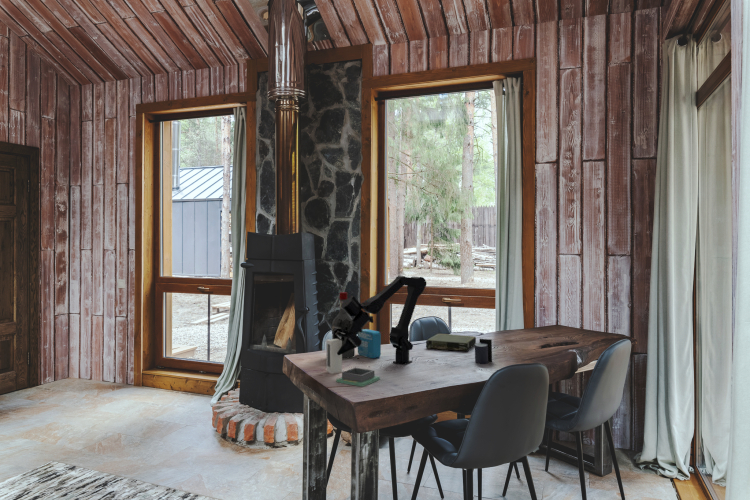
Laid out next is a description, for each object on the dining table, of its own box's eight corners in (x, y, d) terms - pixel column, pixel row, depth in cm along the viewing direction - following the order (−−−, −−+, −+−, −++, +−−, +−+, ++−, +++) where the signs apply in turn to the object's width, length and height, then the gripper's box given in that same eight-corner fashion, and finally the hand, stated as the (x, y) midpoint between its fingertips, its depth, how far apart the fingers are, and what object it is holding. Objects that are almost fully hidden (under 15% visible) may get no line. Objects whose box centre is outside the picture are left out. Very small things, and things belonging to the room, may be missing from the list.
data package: (357, 354, 234) (357, 329, 234) (364, 353, 237) (364, 328, 237) (373, 359, 225) (373, 332, 225) (380, 357, 227) (380, 331, 227)
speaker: (481, 359, 223) (481, 337, 222) (492, 361, 219) (492, 339, 218) (472, 363, 217) (471, 340, 216) (483, 366, 213) (483, 343, 212)
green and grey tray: (354, 375, 196) (354, 366, 196) (379, 379, 189) (379, 370, 189) (336, 382, 186) (336, 372, 186) (362, 386, 179) (362, 377, 179)
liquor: (348, 353, 235) (348, 291, 235) (356, 357, 227) (356, 293, 227) (330, 355, 232) (330, 292, 232) (337, 359, 223) (337, 293, 223)
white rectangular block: (337, 369, 204) (337, 338, 204) (341, 372, 200) (341, 340, 200) (326, 371, 202) (326, 339, 202) (331, 373, 198) (330, 341, 198)
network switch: (424, 350, 245) (424, 340, 245) (433, 342, 268) (433, 332, 268) (471, 353, 238) (471, 343, 238) (476, 344, 261) (476, 335, 261)
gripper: (335, 308, 212) (311, 336, 206) (355, 313, 195) (329, 343, 190) (352, 325, 215) (328, 353, 210) (372, 331, 199) (347, 361, 194)
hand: (333, 352), depth 201 cm, fingers open, 9 cm apart
